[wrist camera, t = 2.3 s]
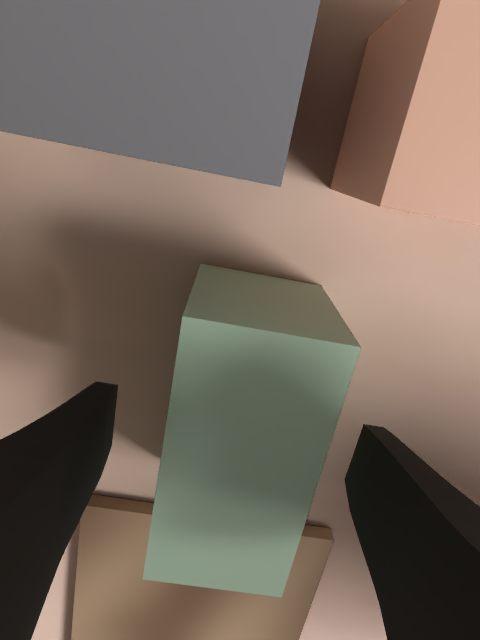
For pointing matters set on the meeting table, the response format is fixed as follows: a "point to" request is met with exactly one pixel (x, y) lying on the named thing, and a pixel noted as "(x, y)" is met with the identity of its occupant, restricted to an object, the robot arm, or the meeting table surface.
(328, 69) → the meeting table surface
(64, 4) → the charcoal brick
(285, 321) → the sage brick
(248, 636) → the walnut board
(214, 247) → the meeting table surface
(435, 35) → the terracotta brick
